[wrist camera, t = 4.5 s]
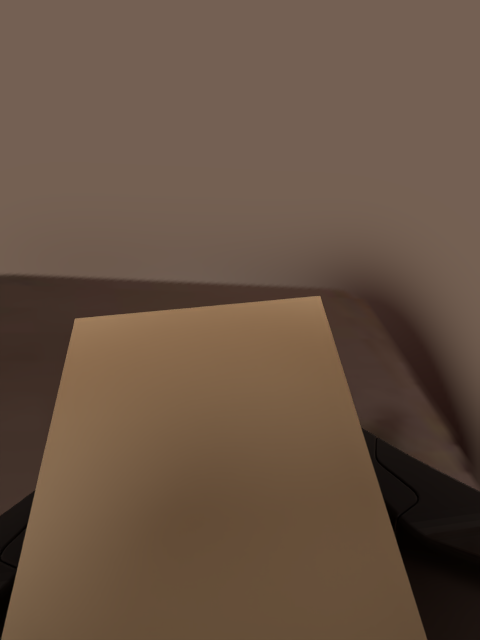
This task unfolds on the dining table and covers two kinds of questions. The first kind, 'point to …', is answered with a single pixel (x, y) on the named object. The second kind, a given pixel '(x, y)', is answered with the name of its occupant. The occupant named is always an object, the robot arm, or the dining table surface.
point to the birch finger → (209, 488)
